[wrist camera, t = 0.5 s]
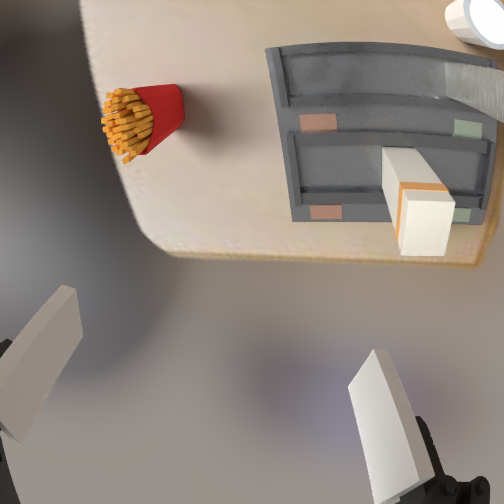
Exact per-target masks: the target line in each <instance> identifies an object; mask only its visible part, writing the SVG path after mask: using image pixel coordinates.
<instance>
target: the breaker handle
mask: <svg viewBox="0 0 504 504" xmlns="http://www.w3.org/2000/svg"><path fill="white" fill-rule="evenodd" d="M382 189H383V192H384V195H385V198H386V201H387V205H388V208H389V211H390V215H391V218H392V222H393V226H394V229H395V236H396V240H397V243H398V245H399V249H400V253H401V255H407V256H444V254H445V250H446V246H447V242H448V237H449V233H450V228H451V223H452V218H453V213H454V208H455V201H454V200H453V198H452V197H451V195H450V194H449V191H448V189H447V188H446V187H445V185H444V184H442V182H441V181H440V179H439V178H438V177H437V175H436V174H435V173H434V171H433V170H432V169H431V167H430V166H429V165H428V164H427V162H426V161H425V160H424V158H423V157H422V156H421V155H420V153H419V152H418V151H417V150H416V149H415V148H401V147H382Z"/></svg>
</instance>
